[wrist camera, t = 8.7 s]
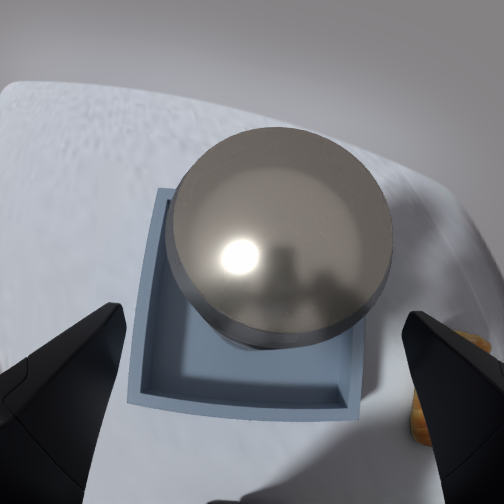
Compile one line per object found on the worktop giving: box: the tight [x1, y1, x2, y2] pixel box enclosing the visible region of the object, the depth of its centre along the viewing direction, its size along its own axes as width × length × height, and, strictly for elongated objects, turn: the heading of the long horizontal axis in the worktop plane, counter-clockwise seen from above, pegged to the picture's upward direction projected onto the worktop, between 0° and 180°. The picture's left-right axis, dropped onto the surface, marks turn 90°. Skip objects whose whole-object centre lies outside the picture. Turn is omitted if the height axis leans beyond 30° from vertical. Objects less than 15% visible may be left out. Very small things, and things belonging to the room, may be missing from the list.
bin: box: [127, 188, 365, 422], centre depth 20 cm, size 14×14×3 cm
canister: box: [165, 127, 393, 351], centre depth 14 cm, size 6×6×15 cm
